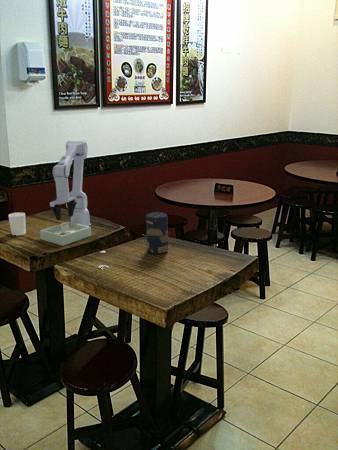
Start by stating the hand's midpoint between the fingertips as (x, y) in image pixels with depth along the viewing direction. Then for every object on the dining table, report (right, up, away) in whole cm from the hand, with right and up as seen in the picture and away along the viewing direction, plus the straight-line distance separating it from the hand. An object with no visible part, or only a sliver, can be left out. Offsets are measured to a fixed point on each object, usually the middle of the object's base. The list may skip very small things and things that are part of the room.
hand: (64, 218), depth 226 cm
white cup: (-25, -8, +9) cm, 28 cm away
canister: (+45, -15, -17) cm, 50 cm away
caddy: (0, -9, +3) cm, 10 cm away
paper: (+23, -20, -29) cm, 42 cm away
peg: (0, -9, +3) cm, 10 cm away
